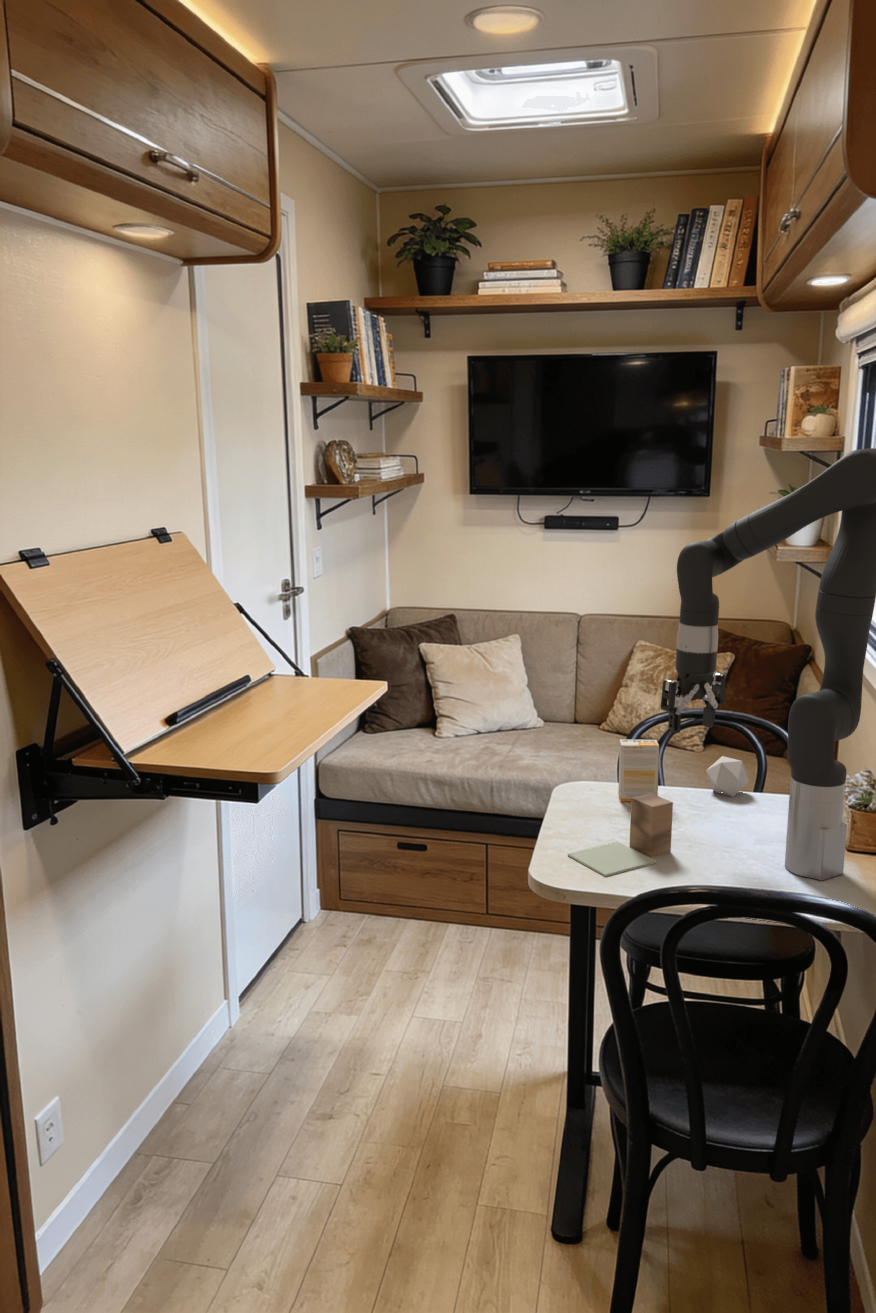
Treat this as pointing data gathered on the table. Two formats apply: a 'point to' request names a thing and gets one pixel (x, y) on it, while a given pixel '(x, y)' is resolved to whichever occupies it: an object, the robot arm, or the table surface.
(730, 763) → the die
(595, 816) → the table surface
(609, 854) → the mat
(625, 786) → the supplement box
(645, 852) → the walnut block
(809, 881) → the table surface
